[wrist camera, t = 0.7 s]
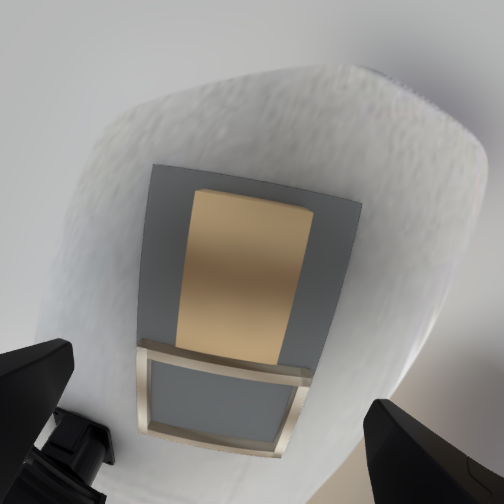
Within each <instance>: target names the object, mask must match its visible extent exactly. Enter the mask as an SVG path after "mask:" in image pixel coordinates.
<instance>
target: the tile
mask: <svg viewBox="0 0 504 504" xmlns="http://www.w3.org/2000/svg"><path fill="white" fill-rule="evenodd" d="M313 214H314V213H313V212H311V211H310V210H308V209H307V208H305V207H301V206H296V205H291V204H286V203H281V202H276V201H271V200H266V199H260V198H255V197H250V196H244V195H239V194H233V193H228V192H222V191H216V190H210V189H201V190H196V191H195V196H194V202H193V208H192V215H191V221H190V228H189V235H188V242H187V249H186V256H185V264H184V272H183V280H182V288H181V297H180V306H179V315H178V325H177V335H176V347H178V348H183V349H187V350H192V351H197V352H202V353H206V354H212V355H217V356H222V357H227V358H233V359H239V360H245V361H251V362H257V363H263V364H270V365H277V361H278V357H279V354H280V350H281V346H282V343H283V339H284V335H285V331H286V328H287V324H288V320H289V316H290V312H291V308H292V304H293V300H294V296H295V292H296V288H297V284H298V280H299V276H300V271H301V267H302V263H303V259H304V254H305V250H306V246H307V241H308V237H309V232H310V228H311V223H312V218H313Z"/></svg>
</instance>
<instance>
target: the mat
mask: <svg viewBox="0 0 504 504" xmlns="http://www.w3.org/2000/svg"><path fill="white" fill-rule="evenodd" d="M201 189H210V190H216V191H222V192H228V193H233V194H239V195H244V196H250V197H255V198H260V199H266V200H271V201H276V202H281V203H286V204H291V205H296V206H301V207H305V208H307V209H308V210H310V211H311V212H313V213H314V214H313V218H312V223H311V228H310V232H309V237H308V241H307V246H306V250H305V254H304V259H303V263H302V267H301V271H300V276H299V280H298V284H297V288H296V292H295V296H294V300H293V304H292V308H291V312H290V316H289V320H288V324H287V328H286V331H285V335H284V339H283V343H282V346H281V350H280V354H279V357H278V361H277V365H283V366H290V367H298V368H307V369H311V373H312V376H314V373H315V371H316V368H317V365H318V362H319V359H320V356H321V353H322V350H323V347H324V344H325V341H326V338H327V335H328V332H329V328H330V325H331V322H332V319H333V316H334V312H335V309H336V306H337V302H338V299H339V295H340V292H341V288H342V285H343V281H344V277H345V274H346V270H347V266H348V262H349V258H350V255H351V251H352V247H353V243H354V238H355V234H356V230H357V226H358V221H359V217H360V212H361V208H362V203H358V202H354V201H350V200H346V199H341V198H337V197H333V196H329V195H324V194H320V193H315V192H311V191H306V190H301V189H297V188H292V187H287V186H282V185H277V184H272V183H267V182H262V181H257V180H251V179H246V178H240V177H234V176H229V175H223V174H217V173H211V172H204V171H198V170H191V169H185V168H178V167H171V166H163V165H156V164H153V168H152V174H151V181H150V187H149V194H148V202H147V209H146V217H145V225H144V234H143V244H142V254H141V266H140V279H139V294H138V314H137V344H138V343H139V341H140V340H141V339H142V338H144V339H148V340H152V341H156V342H160V343H164V344H169V345H173V346H176V335H177V325H178V315H179V306H180V297H181V288H182V280H183V272H184V264H185V256H186V249H187V242H188V235H189V228H190V221H191V215H192V208H193V202H194V196H195V191H196V190H201ZM293 387H294V386H292V385H284V384H276V383H268V382H261V381H255V380H248V379H242V378H236V377H230V376H225V375H219V374H214V373H209V372H204V371H199V370H194V369H189V368H185V367H180V366H176V365H172V364H167V363H163V362H159V361H155V360H152V362H151V420H152V421H156V422H160V423H164V424H168V425H172V426H176V427H181V428H185V429H190V430H194V431H199V432H205V433H210V434H215V435H221V436H227V437H234V438H240V439H248V440H256V441H264V442H274V440H275V438H276V435H277V432H278V430H279V427H280V424H281V421H282V419H283V416H284V413H285V410H286V407H287V405H288V402H289V399H290V396H291V393H292V390H293Z"/></svg>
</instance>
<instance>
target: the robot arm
mask: <svg viewBox="0 0 504 504" xmlns="http://www.w3.org/2000/svg"><path fill="white" fill-rule="evenodd" d="M73 371H74V356H73V347H72V344H71V343H70V342H69V341H67V340H64V339H61V338H57V339H54V340H50V341H47V342H43V343H40V344H36V345H32V346H29V347H25V348H21V349H18V350H14V351H10V352H6V353H3V354H0V504H105V501H106V497H107V496H106V495H105V494H103V493H100V492H98V491H97V490H95V489H93V488H92V487H91V485H92V483H93V481H94V479H95V477H96V475H97V473H98V470H99V468H100V466H101V464H102V462H103V463H106V464H109V465H114V463H115V460H114V455H113V450H112V445H111V439H110V433H109V430H108V429H107V428H106V427H104V426H102V425H99V424H96V423H93V422H91V421H88V420H85V419H83V418H80V417H78V416H75V415H73V414H71V413H68V412H66V411H64V410H61V409H59V408H56V406H57V404H58V402H59V400H60V398H61V395H62V393H63V391H64V389H65V387H66V385H67V383H68V381H69V379H70V377H71V375H72V373H73ZM52 413H53V415H54V418H55V422H56V425H57V426H56V428H55V429H54V430H53V432H52V433H51V435H50V436H49V437H48V440H47V442H46V443H45V444H44V446H43V447H42V449H41V450H39V449H38V448H36V447H35V446H34V443H35V441H36V439H37V438H38V436H39V434H40V433H41V431H42V429H43V428H44V426H45V424H46V423H47V421H48V419H49V418H50V416H51V414H52ZM363 429H364V438H365V447H366V457H367V466H368V471H369V476H370V480H371V486H372V491H373V495H374V501H375V504H504V478H503V477H501V476H499V475H497V474H496V473H494V472H492V471H490V470H489V469H487V468H485V467H484V466H482V465H481V464H479V463H478V462H476V461H475V460H473V459H472V458H470V457H469V456H467V455H466V454H464V453H463V452H461V451H460V450H458V449H457V448H456V447H454V446H452V445H451V444H450V443H448V442H447V441H445V440H444V439H443V438H441V437H440V436H438V435H437V434H435V433H434V432H433V431H431V430H430V429H428V428H427V427H426V426H424V425H423V424H421V423H420V422H419V421H417V420H416V419H415V418H413V417H412V416H410V415H409V414H408V413H406V412H405V411H403V410H402V409H401V408H399V407H398V406H397V405H395V404H394V403H393V402H391V401H390V400H388V399H375V400H374V401H373V403H372V405H371V407H370V408H369V410H368V412H367V414H366V416H365V418H364V422H363ZM24 462H25V463H24Z"/></svg>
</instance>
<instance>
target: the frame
mask: <svg viewBox="0 0 504 504" xmlns="http://www.w3.org/2000/svg"><path fill="white" fill-rule="evenodd" d="M152 360H155V361H159V362H163V363H167V364H172V365H176V366H180V367H185V368H189V369H194V370H199V371H204V372H209V373H214V374H219V375H225V376H230V377H236V378H242V379H248V380H255V381H261V382H268V383H276V384H284V385H292V386H294V387H293V390H292V393H291V396H290V399H289V402H288V405H287V407H286V410H285V413H284V416H283V419H282V421H281V424H280V427H279V430H278V432H277V435H276V438H275V440H274V442H264V441H256V440H248V439H240V438H234V437H227V436H221V435H215V434H210V433H205V432H199V431H194V430H190V429H185V428H181V427H176V426H172V425H168V424H164V423H160V422H156V421H152V420H151V362H152ZM312 380H313V376H312V373H311V369H307V368H298V367H290V366H283V365H270V364H263V363H257V362H251V361H245V360H239V359H233V358H227V357H222V356H217V355H212V354H206V353H202V352H197V351H192V350H187V349H183V348H178V347H176V346H173V345H169V344H164V343H160V342H156V341H152V340H148V339H144V338H142V339H141V340H140V341H139V343H138V344H137V346H136V387H137V415H138V432H139V433H142V434H145V435H149V436H153V437H156V438H160V439H164V440H168V441H172V442H177V443H181V444H186V445H190V446H195V447H200V448H205V449H211V450H217V451H223V452H229V453H236V454H243V455H251V456H260V457H270V458H282V455H283V453H284V451H285V449H286V446H287V444H288V441H289V439H290V437H291V434H292V432H293V429H294V427H295V425H296V422H297V420H298V417H299V415H300V412H301V409H302V407H303V404H304V402H305V399H306V396H307V394H308V391H309V388H310V386H311V383H312Z"/></svg>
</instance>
